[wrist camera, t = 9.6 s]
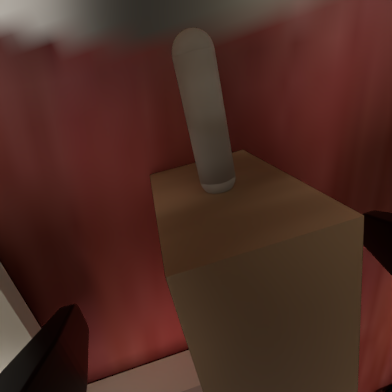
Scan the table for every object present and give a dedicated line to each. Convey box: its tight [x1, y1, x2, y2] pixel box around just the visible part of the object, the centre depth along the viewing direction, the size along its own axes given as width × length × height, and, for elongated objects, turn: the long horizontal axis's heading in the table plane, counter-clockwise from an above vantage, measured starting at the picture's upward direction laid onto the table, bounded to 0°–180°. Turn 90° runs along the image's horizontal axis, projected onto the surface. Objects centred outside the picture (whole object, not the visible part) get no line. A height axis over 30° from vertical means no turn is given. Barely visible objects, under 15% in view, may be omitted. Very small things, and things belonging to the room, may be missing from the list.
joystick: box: [150, 28, 364, 392], centre depth 7 cm, size 3×9×5 cm, turn 12°
